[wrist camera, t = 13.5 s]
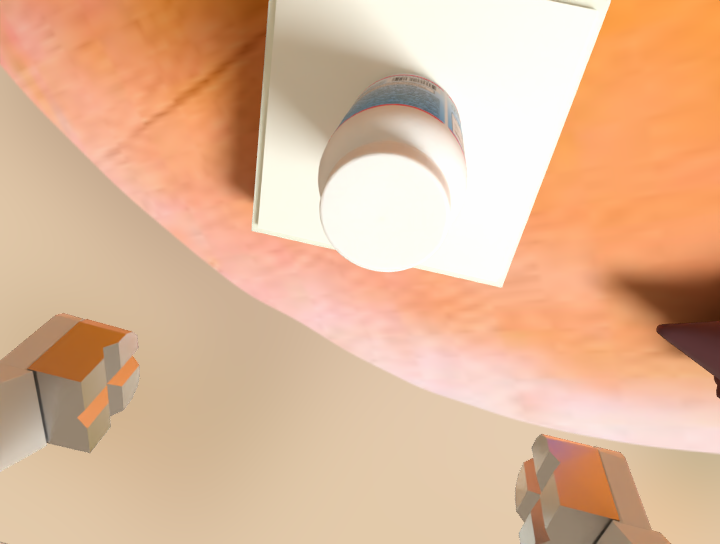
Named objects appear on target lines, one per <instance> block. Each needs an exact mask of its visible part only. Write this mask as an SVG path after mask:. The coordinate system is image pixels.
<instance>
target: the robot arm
mask: <svg viewBox="0 0 720 544" xmlns="http://www.w3.org/2000/svg"><path fill="white" fill-rule="evenodd" d="M137 349H138V338H137V335H136V334H135V333H133V332H131V331H128V330H124V329H121V328H117V327H114V326H110V325H106V324H103V323H99V322H95V321H92V320H88V319H82V318H79V317H75V316H72V315H68V314H65V313H62V314H58V315H55V316H54V317H52V318H51V319H50V320H49V321H48V322H46V323H45V324H44V325H43V326H41V327H40V328H39V329H38V330H37V331H35V332H34V333H33V334H32V335H31V336H29V337H28V338H27V339H26V340H25V341H23V342H22V343H21V344H20V345H19V346H17V347H16V348H15V349H14V350H12V351H11V352H10V353H9V354H8V355H6V356H5V357H4V358H3V359H2V360H0V471H2V470H4V469H6V468H8V467H9V466H11V465H13V464H15V463H16V462H18V461H20V460H22V459H24V458H26V457H27V456H29V455H31V454H33V453H34V452H36V451H38V450H40V449H42V448H43V447H45V446H46V445H47V443H49V444H54V445H58V446H62V447H67V448H71V449H75V450H80V451H84V452H88V453H90V452H91V451H92V450H93V449H94V448H95V446H96V445H97V444H98V442H99V441H100V440H101V439H102V437H103V436H104V435H105V433H106V432H107V431H108V430H109V428H110V427H111V424H110V416H112V415H114V414H116V413H118V412H120V411H123V410H124V409H125V408H126V406H127V405H128V404H129V402H130V401H131V399H132V397H133V395H134V393H135V390H136V388H137V386H138V381H139V376H140V367H139V364H138V363H137V361H136V360H135V359H134V357H133V356H132V355H133V354H134V353H135V352H136V350H137ZM532 451H533V458H532V459H530V460H528V461H526V462H524V463H523V465H522V467H521V470H520V472H519V474H518V478H517V483H516V488H515V503H516V512H517V513H518V514H519V516H520V517H521V518H522V520H523V521H524V522H525V523H524V525H523V527H522V528H521V530H520V532H519V538H520V544H671V543H670V542H669V541H668V540H667V539H666V538H665V537H664V536H663V535H662V534H661V533H660V532H656V531H653V530H652V529H651V526H650V523H649V521H648V518H647V515H646V513H645V510H644V507H643V504H642V502H641V499H640V496H639V494H638V491H637V488H636V485H635V483H634V480H633V477H632V475H631V472H630V469H629V466H628V464H627V461H626V458H625V457H624V456H623V455H622V454H621V452H616V451H612V450H608V449H603V448H599V447H592V446H590V445H585V444H581V443H577V442H573V441H569V440H565V439H561V438H556V437H552V436H548V435H544V434H541V435H539V436H538V437H537V438H536V440H535V442H534V444H533V446H532ZM0 544H6V543H3V542H0Z"/></svg>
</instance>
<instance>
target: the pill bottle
mask: <svg viewBox="0 0 720 544" xmlns="http://www.w3.org/2000/svg"><path fill="white" fill-rule="evenodd" d="M318 188H319V193H320V197H321V198H320V204H319V210H320V220H321V224H322V227H323V230H324V232H325V235H326V237H327V239H328V240H329V242H330V243H331V244H332V246H333V247H334V248H335V249H336V250H337V251H338V252H339V253H340V254H341V255H342V256H343V257H344V258H346V259H347V260H349V261H350V262H352V263H354V264H356V265H358V266H360V267H363V268H366V269H370V270H374V271H382V272H393V271H401V270H405V269H408V268H411V267H414V266H416V265H418V264H420V263H422V262H423V261H425V260H426V259H427V258H429V257H430V256H431V255H432V254H433V253H434V252H435V251H436V250H437V249H438V248H439V246H440V245H441V243H442V242H443V240H444V238H445V236H446V233H447V231H448V227H449V226H450V225H451V224H452V222H453V221H454V220H455V218H456V217H457V215H458V213H459V211H460V209H461V207H462V205H463V202H464V199H465V194H466V189H467V167H466V159H465V151H464V142H463V134H462V127H461V120H460V116H459V113H458V110H457V108H456V105H455V104H454V102H453V100H452V98H451V97H450V96H449V94H448V93H447V92H446V91H445V90H444V89H443V88H442V87H441V86H439V85H438V84H437V83H435V82H434V81H432V80H430V79H428V78H425V77H423V76H420V75H415V74H406V73H402V74H394V75H390V76H386V77H384V78H381V79H379V80H377V81H376V82H374V83H372V84H371V85H370V86H368V87H367V88H366V89H365V90H364V91H363V92H362V93H361V95H360V96H359V97H358V98H357V100H356V101H355V103H354V104H353V105H352V107H351V108H350V110H349V111H348V113H347V114H346V115H345V117H344V118H343V120H342V121H341V123H340V124H339V126H338V127H337V129H336V131H335V132H334V133H333V135H332V136H331V138H330V139H329V141H328V143H327V145H326V147H325V150H324V152H323V154H322V157H321V160H320V165H319V171H318Z"/></svg>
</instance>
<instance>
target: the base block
mask: <svg viewBox="0 0 720 544" xmlns="http://www.w3.org/2000/svg"><path fill="white" fill-rule="evenodd" d="M610 2H611V0H269V5H268V18H267V32H266V45H265V58H264V72H263V85H262V98H261V112H260V125H259V138H258V152H257V165H256V178H255V192H254V205H253V218H252V231H255V232H260V233H264V234H268V235H273V236H277V237H282V238H286V239H290V240H295V241H299V242H304V243H308V244H312V245H317V246H321V247H326V248H330V249H334V250H336V249H335V248H334V247H333V246H332V244H331V243H330V242H329V240H328V239H327V237H326V235H325V232H324V230H323V227H322V224H321V220H320V210H319V204H320V198H321V197H320V193H319V188H318V171H319V165H320V160H321V157H322V154H323V152H324V150H325V147H326V145H327V143H328V141H329V139H330V138H331V136H332V135H333V133H334V132H335V131H336V129H337V127H338V126H339V124H340V123H341V121H342V120H343V118H344V117H345V115H346V114H347V113H348V111H349V110H350V108H351V107H352V105H353V104H354V103H355V101H356V100H357V98H358V97H359V96H360V95H361V93H362V92H363V91H364V90H365V89H366V88H367V87H368V86H370V85H371V84H372V83H374V82H376V81H377V80H379V79H381V78H384V77H386V76H390V75H394V74H402V73H406V74H415V75H420V76H423V77H425V78H428V79H430V80H432V81H434V82H435V83H437V84H438V85H439V86H441V87H442V88H443V89H444V90H445V91H446V92H447V93H448V94H449V96H450V97H451V98H452V100H453V102H454V104H455V105H456V108H457V110H458V113H459V116H460V120H461V127H462V134H463V142H464V151H465V159H466V167H467V189H466V194H465V199H464V202H463V205H462V207H461V209H460V211H459V213H458V215H457V217H456V218H455V220H454V221H453V222H452V224H451V225H450V226H449V227H448V231H447V233H446V236H445V238H444V240H443V242H442V243H441V245H440V246H439V248H438V249H437V250H436V251H435V252H434V253H433V254H432V255H431V256H430V257H429V258H427V259H426V260H425V261H423V262H422V263H420V264H418V265H416V266H414V268H418V269H423V270H427V271H431V272H436V273H440V274H445V275H449V276H453V277H458V278H462V279H467V280H471V281H475V282H480V283H484V284H489V285H493V286H497V287H502V285H503V283H504V280H505V277H506V275H507V272H508V270H509V267H510V264H511V262H512V259H513V256H514V254H515V251H516V249H517V246H518V243H519V241H520V238H521V236H522V233H523V230H524V228H525V225H526V222H527V220H528V217H529V215H530V212H531V209H532V207H533V204H534V201H535V199H536V196H537V194H538V191H539V188H540V186H541V183H542V180H543V178H544V175H545V173H546V170H547V167H548V165H549V162H550V159H551V157H552V154H553V152H554V149H555V146H556V144H557V141H558V138H559V136H560V133H561V131H562V128H563V125H564V123H565V120H566V118H567V115H568V112H569V110H570V107H571V104H572V102H573V99H574V97H575V94H576V91H577V89H578V86H579V83H580V81H581V78H582V76H583V73H584V70H585V68H586V65H587V62H588V60H589V57H590V55H591V52H592V49H593V47H594V44H595V41H596V39H597V36H598V34H599V31H600V28H601V26H602V23H603V20H604V18H605V15H606V13H607V10H608V7H609V5H610Z"/></svg>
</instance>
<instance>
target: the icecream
mask: <svg viewBox="0 0 720 544" xmlns="http://www.w3.org/2000/svg"><path fill="white" fill-rule="evenodd" d="M657 333H658V334H660V335H661V336H662V337H663V338H664V339H666V340H667V341H668V342H670V343H671V344H672V345H674V346H675V347H676V348H678V349H679V350H680V351H682V352H683V353H684V354H686V355H687V356H688V357H690V358H691V359H692V360H694V361H695V362H696V363H698V364H699V365H700V366H702V367H703V368H704V369H706V370H707V371H708V372H710V373H711V374H712V375H714V380H715V382H716V384H717V390H716V394H717V397H718V398H720V321H711V322H696V323H678V324H662V325H659V326H658V327H657Z"/></svg>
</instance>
